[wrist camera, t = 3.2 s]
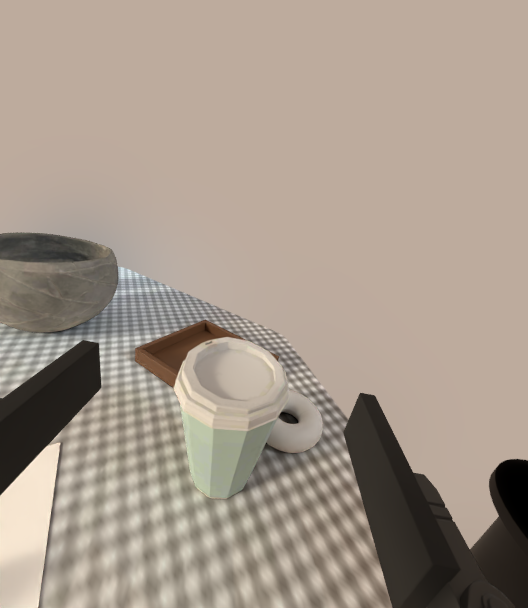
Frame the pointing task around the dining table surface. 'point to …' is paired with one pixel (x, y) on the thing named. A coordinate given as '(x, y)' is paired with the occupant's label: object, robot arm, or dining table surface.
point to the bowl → (53, 281)
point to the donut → (297, 426)
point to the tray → (178, 349)
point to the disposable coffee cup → (228, 411)
